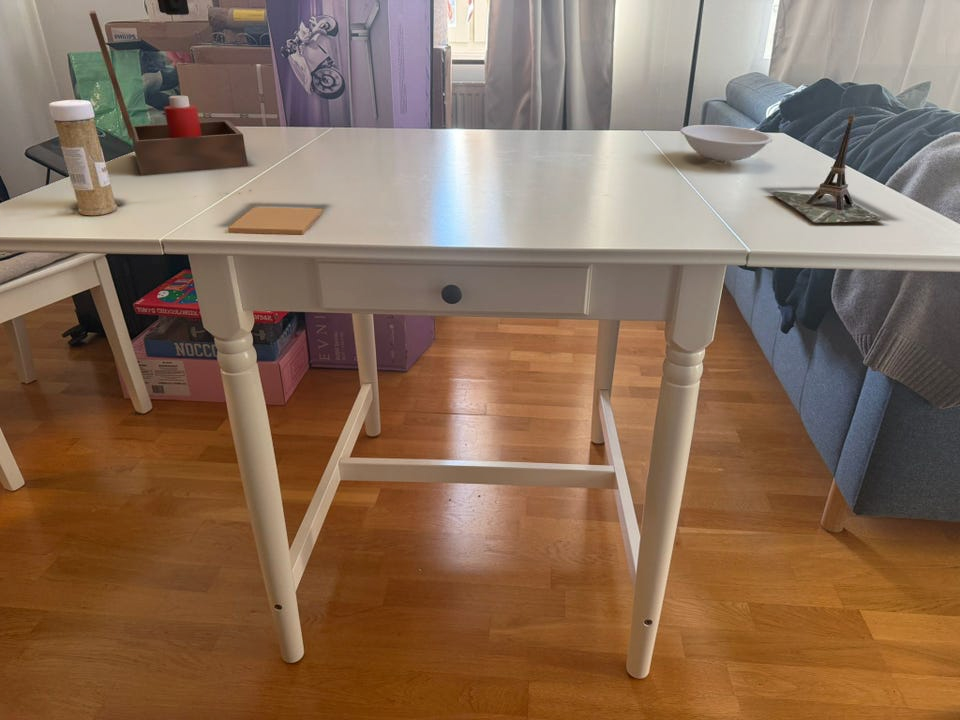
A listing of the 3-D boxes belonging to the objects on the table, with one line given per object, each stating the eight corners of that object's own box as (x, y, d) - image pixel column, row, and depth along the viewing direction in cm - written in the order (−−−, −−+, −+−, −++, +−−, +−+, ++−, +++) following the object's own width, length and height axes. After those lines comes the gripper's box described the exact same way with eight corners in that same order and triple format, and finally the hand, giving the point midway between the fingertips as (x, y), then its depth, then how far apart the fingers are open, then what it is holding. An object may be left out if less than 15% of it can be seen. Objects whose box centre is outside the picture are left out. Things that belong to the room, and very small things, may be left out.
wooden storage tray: (233, 154, 119) (228, 120, 116) (248, 171, 108) (243, 134, 105) (137, 162, 113) (128, 126, 110) (142, 181, 101) (133, 141, 99)
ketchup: (176, 166, 107) (163, 99, 102) (173, 160, 111) (160, 95, 106) (208, 163, 109) (196, 97, 104) (204, 157, 113) (192, 94, 108)
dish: (662, 153, 124) (666, 125, 122) (735, 152, 126) (740, 124, 124) (702, 175, 109) (707, 143, 106) (785, 174, 111) (792, 142, 108)
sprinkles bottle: (124, 210, 88) (98, 101, 81) (90, 218, 84) (59, 105, 78) (106, 204, 90) (79, 97, 84) (71, 212, 87) (40, 101, 80)
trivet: (228, 232, 80) (227, 227, 80) (254, 211, 88) (254, 206, 88) (303, 234, 80) (302, 229, 79) (322, 213, 88) (322, 208, 87)
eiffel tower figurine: (764, 194, 98) (785, 97, 92) (832, 194, 99) (857, 98, 93) (813, 225, 85) (841, 114, 79) (891, 225, 86) (925, 115, 79)
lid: (95, 10, 102) (89, 11, 101) (95, 12, 90) (89, 13, 90) (130, 122, 110) (125, 123, 110) (135, 137, 99) (129, 138, 98)
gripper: (115, -121, 97) (143, 12, 106) (119, -139, 84) (150, 15, 92) (171, -117, 100) (194, 12, 109) (183, -134, 87) (208, 15, 95)
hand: (174, 13), depth 100 cm, fingers open, 9 cm apart
